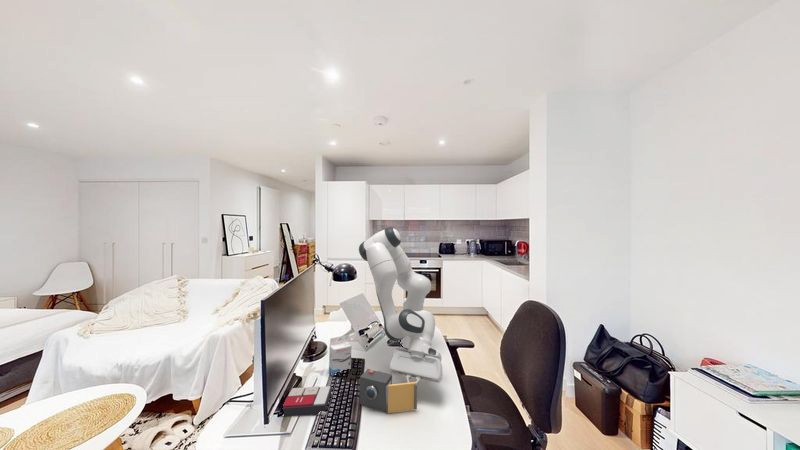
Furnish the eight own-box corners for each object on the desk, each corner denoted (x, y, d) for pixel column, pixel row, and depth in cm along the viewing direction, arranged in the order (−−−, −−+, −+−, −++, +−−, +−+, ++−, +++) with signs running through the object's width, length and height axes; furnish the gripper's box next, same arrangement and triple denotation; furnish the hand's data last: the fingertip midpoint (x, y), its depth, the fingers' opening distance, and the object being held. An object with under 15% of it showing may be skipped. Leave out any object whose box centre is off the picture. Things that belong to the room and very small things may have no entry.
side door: (415, 407, 93) (415, 381, 93) (416, 410, 92) (417, 384, 92) (385, 411, 91) (385, 384, 91) (385, 414, 90) (386, 387, 90)
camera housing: (367, 395, 100) (368, 367, 101) (391, 402, 97) (392, 372, 97) (357, 407, 93) (358, 377, 94) (383, 415, 90) (383, 383, 90)
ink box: (332, 377, 112) (333, 342, 112) (328, 372, 116) (329, 338, 117) (351, 371, 117) (352, 338, 117) (347, 366, 121) (347, 334, 121)
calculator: (291, 386, 100) (331, 384, 101) (291, 398, 100) (332, 395, 101) (280, 406, 89) (325, 402, 90) (280, 419, 89) (326, 415, 90)
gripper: (393, 343, 107) (382, 380, 98) (443, 352, 100) (437, 393, 91) (397, 349, 111) (387, 386, 102) (445, 358, 104) (439, 399, 95)
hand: (411, 389), depth 96 cm, fingers closed
